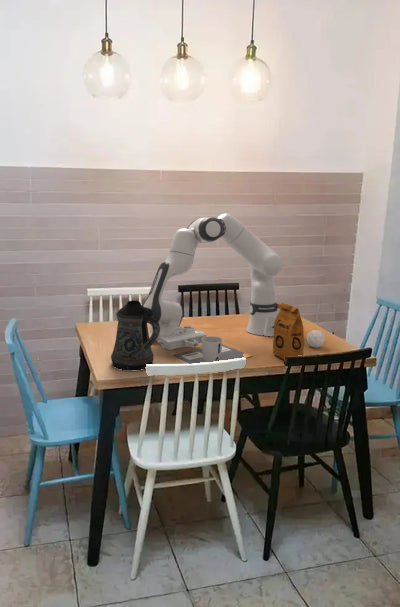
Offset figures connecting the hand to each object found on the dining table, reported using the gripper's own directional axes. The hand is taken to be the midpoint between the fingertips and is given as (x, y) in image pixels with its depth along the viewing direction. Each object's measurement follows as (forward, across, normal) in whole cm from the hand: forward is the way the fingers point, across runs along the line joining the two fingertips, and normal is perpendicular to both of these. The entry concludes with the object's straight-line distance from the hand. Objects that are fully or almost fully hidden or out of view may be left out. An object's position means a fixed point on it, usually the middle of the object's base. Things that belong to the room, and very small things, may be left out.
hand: (195, 344), depth 219 cm
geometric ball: (+19, +51, +5) cm, 54 cm away
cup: (+11, 0, +5) cm, 12 cm away
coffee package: (+23, +30, +5) cm, 38 cm away
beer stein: (-6, -24, +5) cm, 25 cm away
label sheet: (+3, +6, +5) cm, 9 cm away
